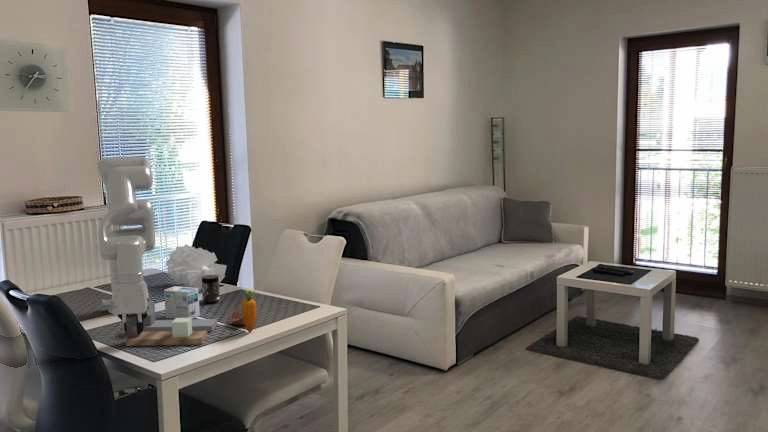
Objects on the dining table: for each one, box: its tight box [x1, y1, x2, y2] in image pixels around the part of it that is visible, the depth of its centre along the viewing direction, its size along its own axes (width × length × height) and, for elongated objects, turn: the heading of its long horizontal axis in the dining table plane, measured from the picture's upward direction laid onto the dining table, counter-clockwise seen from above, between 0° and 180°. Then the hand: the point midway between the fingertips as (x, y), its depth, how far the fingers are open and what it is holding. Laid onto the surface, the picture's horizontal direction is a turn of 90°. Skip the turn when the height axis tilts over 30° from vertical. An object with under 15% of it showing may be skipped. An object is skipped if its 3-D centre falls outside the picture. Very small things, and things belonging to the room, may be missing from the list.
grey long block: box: [143, 301, 218, 333], centre depth 226 cm, size 24×8×9 cm, turn 92°
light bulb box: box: [163, 285, 201, 320], centre depth 241 cm, size 11×7×11 cm, turn 71°
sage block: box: [172, 318, 192, 337], centre depth 213 cm, size 5×5×5 cm
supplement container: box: [201, 275, 221, 305], centre depth 261 cm, size 7×7×10 cm
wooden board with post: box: [125, 314, 208, 347], centre depth 213 cm, size 24×8×9 cm, turn 92°
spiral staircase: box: [165, 243, 228, 292], centre depth 285 cm, size 18×18×25 cm
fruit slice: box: [228, 308, 245, 326], centre depth 231 cm, size 8×7×5 cm
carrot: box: [241, 289, 257, 333], centre depth 222 cm, size 5×5×15 cm
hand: (134, 332), depth 213 cm, fingers closed on wooden board with post, 3 cm apart
